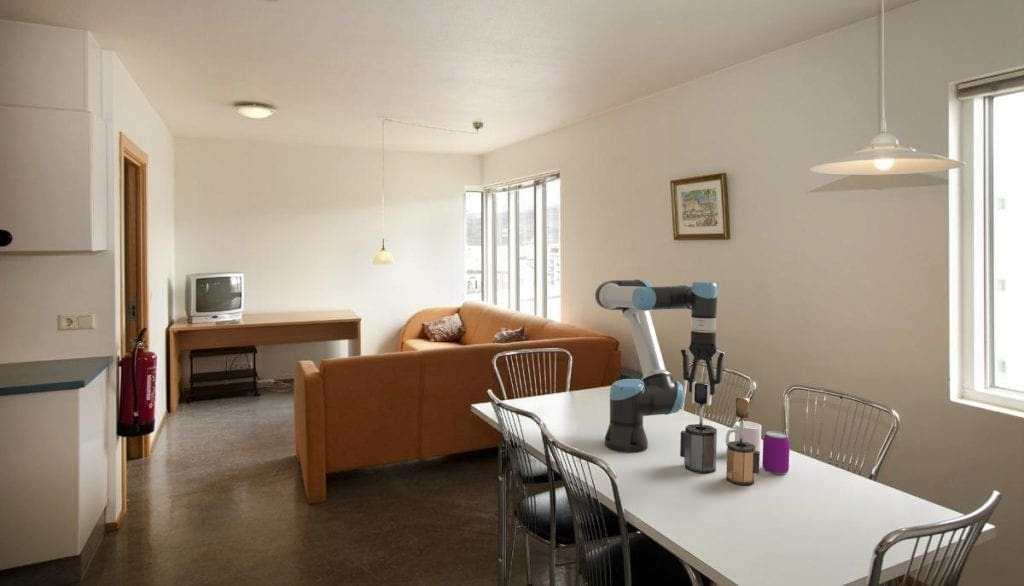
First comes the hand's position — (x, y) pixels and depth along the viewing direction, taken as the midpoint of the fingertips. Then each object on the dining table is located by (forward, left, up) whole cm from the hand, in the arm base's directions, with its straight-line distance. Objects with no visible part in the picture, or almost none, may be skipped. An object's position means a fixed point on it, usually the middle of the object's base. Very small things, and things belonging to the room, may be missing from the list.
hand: (701, 403), depth 190 cm
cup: (+9, +21, -21) cm, 31 cm away
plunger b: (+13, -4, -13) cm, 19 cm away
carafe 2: (+13, -4, -21) cm, 25 cm away
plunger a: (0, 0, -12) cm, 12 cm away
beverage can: (+21, +10, -21) cm, 32 cm away
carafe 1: (0, 0, -21) cm, 21 cm away
